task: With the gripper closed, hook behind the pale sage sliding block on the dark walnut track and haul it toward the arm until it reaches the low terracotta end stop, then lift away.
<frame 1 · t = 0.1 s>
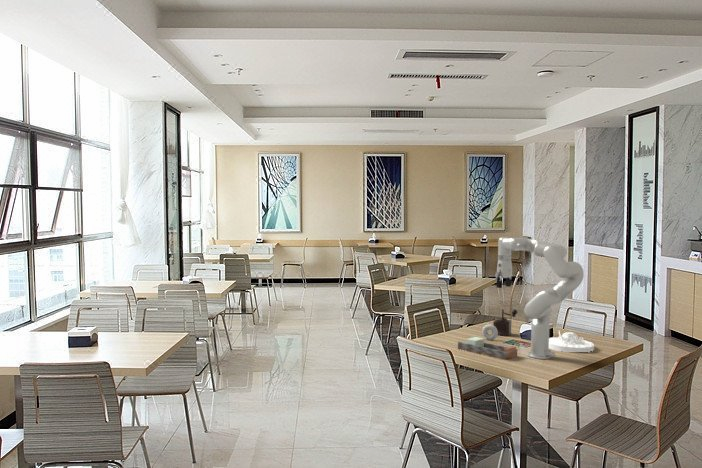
hand: (503, 287, 329), 37 cm above the table, tool pointing down, fingers open, 9 cm apart
track: (486, 352, 320), on the table
sliding block: (475, 343, 326), point 4 cm above the table, slide at 8.0 cm
brown coffee grinder: (505, 335, 370), on the table
cake: (568, 348, 337), on the table
donut: (489, 340, 353), on the table
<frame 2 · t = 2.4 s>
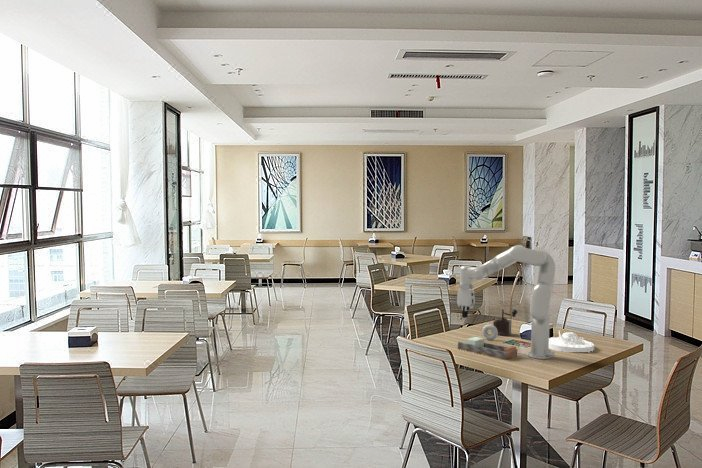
hand: (464, 317, 331), 18 cm above the table, tool pointing down, fingers closed
nothing on the table moved.
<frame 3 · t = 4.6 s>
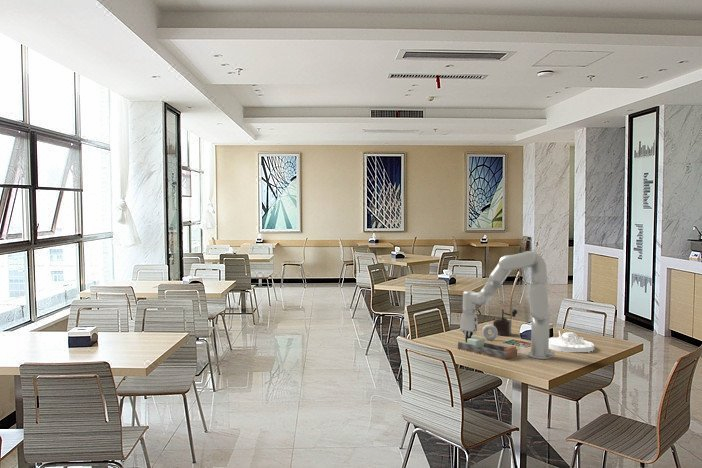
hand: (468, 342, 329), 4 cm above the table, tool pointing down, fingers closed
sliding block: (475, 343, 325), point 4 cm above the table, slide at 7.7 cm, touching gripper
everything else where it was.
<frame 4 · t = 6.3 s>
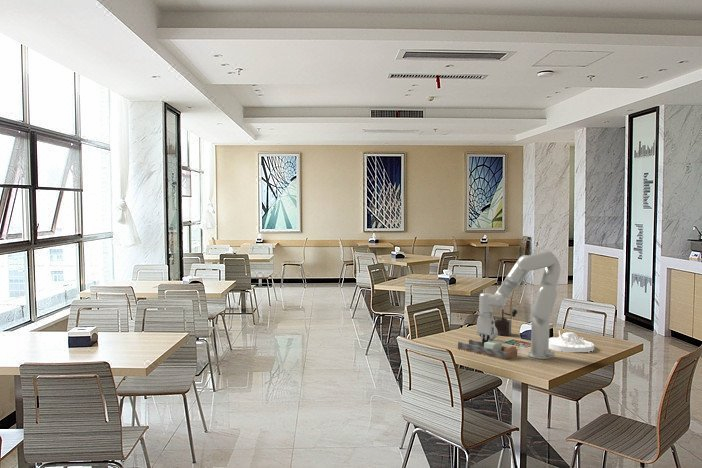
hand: (485, 346, 321), 4 cm above the table, tool pointing down, fingers closed
sliding block: (492, 346, 317), point 4 cm above the table, slide at -3.9 cm, touching gripper
everything else where it was.
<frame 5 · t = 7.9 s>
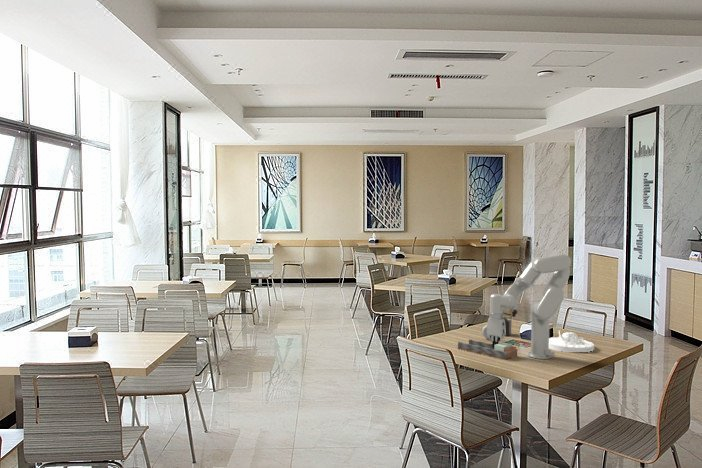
hand: (495, 348, 316), 4 cm above the table, tool pointing down, fingers closed
sliding block: (503, 349, 312), point 4 cm above the table, slide at -10.8 cm, touching gripper
everything else where it was.
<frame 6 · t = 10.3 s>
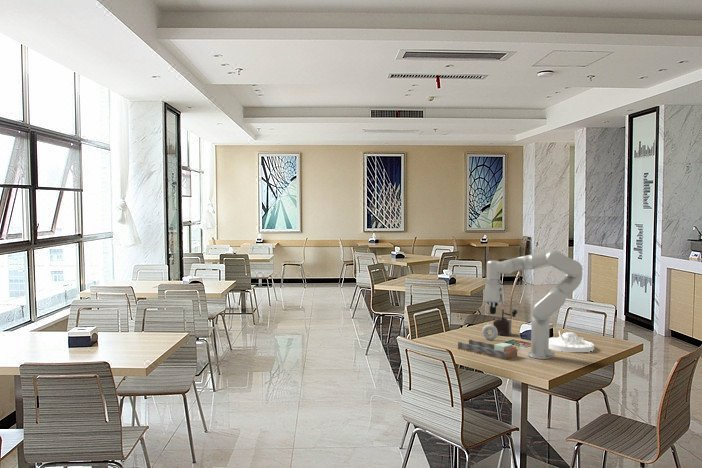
hand: (492, 313, 320), 22 cm above the table, tool pointing down, fingers closed
sliding block: (503, 349, 312), point 4 cm above the table, slide at -10.7 cm
everything else where it was.
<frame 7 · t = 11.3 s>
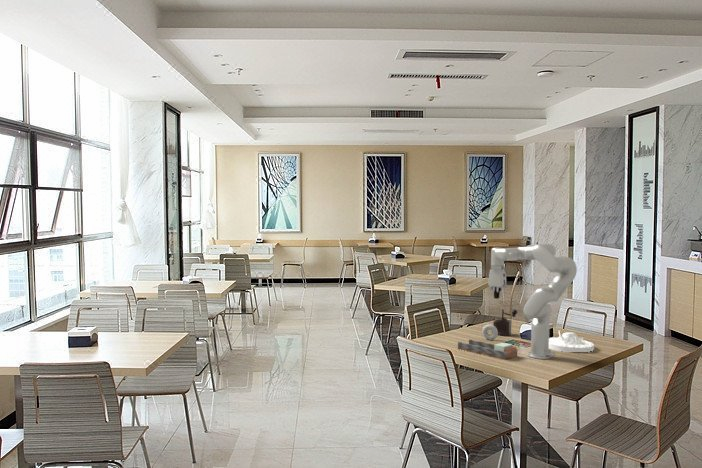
hand: (496, 298, 335), 29 cm above the table, tool pointing down, fingers closed
nothing on the table moved.
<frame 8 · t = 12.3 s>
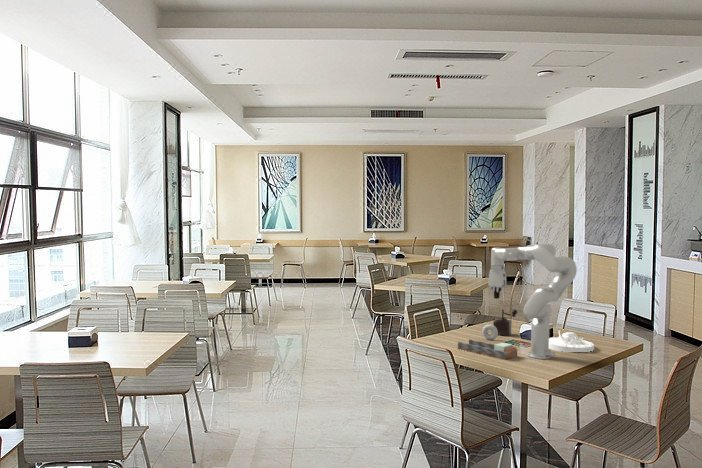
hand: (496, 298, 335), 29 cm above the table, tool pointing down, fingers closed
nothing on the table moved.
at the end: sliding block slide at -10.7 cm; the gripper is holding nothing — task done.
